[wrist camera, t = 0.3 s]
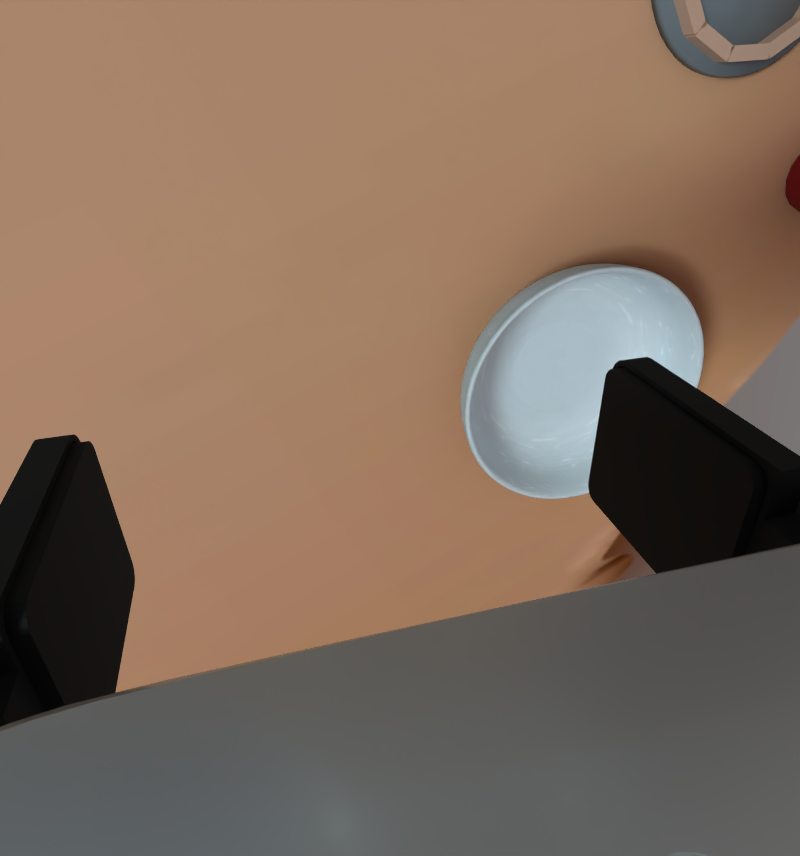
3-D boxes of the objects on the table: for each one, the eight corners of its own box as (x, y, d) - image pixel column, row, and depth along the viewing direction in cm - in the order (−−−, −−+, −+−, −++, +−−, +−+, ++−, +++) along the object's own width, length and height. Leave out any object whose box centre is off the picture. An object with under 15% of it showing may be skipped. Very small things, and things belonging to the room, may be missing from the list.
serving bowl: (417, 290, 48) (443, 319, 43) (654, 213, 50) (710, 230, 44) (463, 488, 60) (489, 532, 54) (656, 419, 61) (701, 454, 56)
